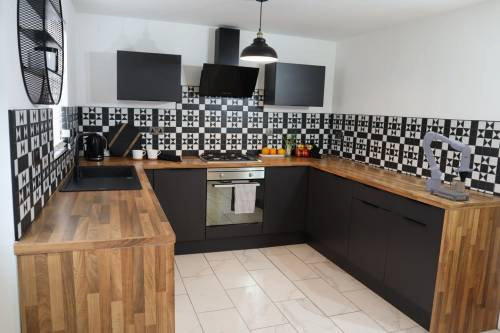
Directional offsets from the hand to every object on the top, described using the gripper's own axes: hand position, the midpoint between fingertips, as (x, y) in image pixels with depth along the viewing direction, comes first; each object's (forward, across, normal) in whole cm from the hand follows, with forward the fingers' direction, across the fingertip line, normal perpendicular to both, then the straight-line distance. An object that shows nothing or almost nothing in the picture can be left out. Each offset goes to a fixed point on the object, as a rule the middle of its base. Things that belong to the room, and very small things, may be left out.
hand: (462, 181), depth 276 cm
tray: (+9, -14, -7) cm, 19 cm away
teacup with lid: (+10, +8, +12) cm, 17 cm away
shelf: (+9, -17, -7) cm, 21 cm away
